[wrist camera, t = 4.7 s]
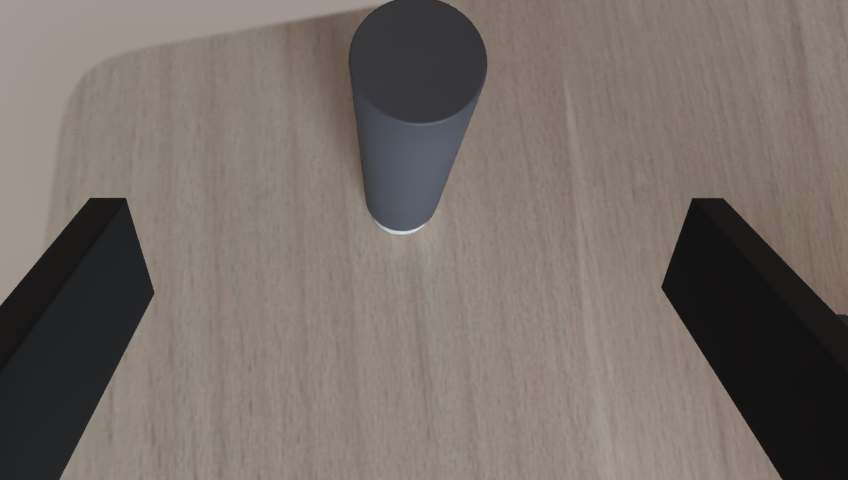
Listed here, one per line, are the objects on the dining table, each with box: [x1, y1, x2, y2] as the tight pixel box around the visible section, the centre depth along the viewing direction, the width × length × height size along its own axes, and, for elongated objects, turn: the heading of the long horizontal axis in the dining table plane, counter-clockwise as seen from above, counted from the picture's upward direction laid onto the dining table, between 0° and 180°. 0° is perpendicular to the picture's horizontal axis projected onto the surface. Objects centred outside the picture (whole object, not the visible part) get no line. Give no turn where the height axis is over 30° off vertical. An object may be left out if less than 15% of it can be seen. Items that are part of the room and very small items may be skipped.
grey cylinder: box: [349, 0, 487, 235], centre depth 17 cm, size 3×3×12 cm
